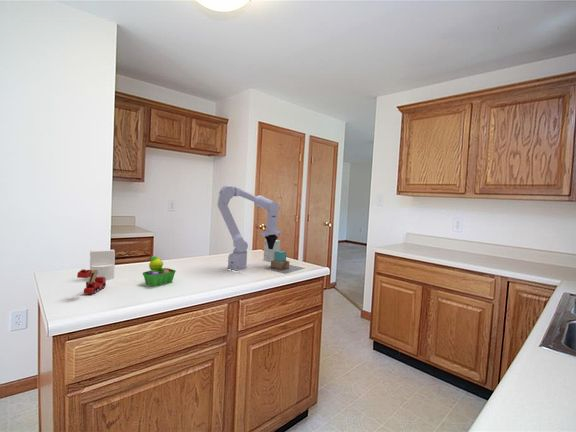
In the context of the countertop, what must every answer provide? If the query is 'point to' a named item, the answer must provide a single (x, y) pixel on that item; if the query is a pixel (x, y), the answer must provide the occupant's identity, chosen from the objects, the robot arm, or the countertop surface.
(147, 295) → the countertop surface
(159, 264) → the fruit basket
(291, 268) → the baseplate
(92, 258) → the base with upright slab
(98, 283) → the toy fire truck
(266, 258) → the small box
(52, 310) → the countertop surface
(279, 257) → the teal block
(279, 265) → the base brick
